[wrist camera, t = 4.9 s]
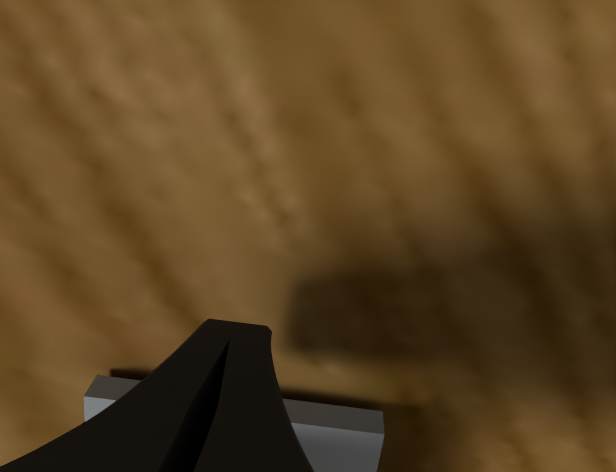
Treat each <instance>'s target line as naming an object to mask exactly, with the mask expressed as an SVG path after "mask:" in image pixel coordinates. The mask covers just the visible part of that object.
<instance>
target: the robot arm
mask: <svg viewBox="0 0 616 472" xmlns="http://www.w3.org/2000/svg"><path fill="white" fill-rule="evenodd" d="M271 335H272V331H271V330H270V329H269V328H268V327H267V326H263V325H255V324H247V323H239V322H231V321H223V320H215V319H207V320H206V321H205V322H203V323H202V324H201V325H200V326H199V327H198V329H197V330H196V331H195V332H194V333H193V334H192V335H191V336H190V337H189V338H188V339H187V340H186V341H185V342H184V343H183V344H182V345H181V346H180V347H179V348H178V349H177V350H176V351H175V352H174V353H172V354H171V355H170V356H169V357H168V358H167V359H166V360H165V361H164V362H163V363H161V364H160V365H159V366H158V367H157V368H156V369H155V370H154V371H153V372H151V373H150V374H149V375H148V376H147V377H145V378H144V379H143V380H142V381H140V382H139V383H138V384H137V385H135V386H134V387H133V388H132V389H130V390H129V391H128V392H127V393H125V394H124V395H123V396H122V397H120V398H119V399H118V400H116V401H115V402H114V403H112V404H111V405H109V406H108V407H107V408H105V409H104V410H102V411H101V412H99V413H98V414H96V415H95V416H93V417H92V418H90V419H89V420H87V421H86V422H84V423H83V424H81V425H79V426H78V427H76V428H74V429H72V430H71V431H69V432H67V433H65V434H63V435H62V436H60V437H58V438H56V439H54V440H53V441H51V442H49V443H47V444H45V445H43V446H42V447H40V448H38V449H36V450H34V451H32V452H30V453H28V454H26V455H24V456H22V457H20V458H18V459H16V460H14V461H11V462H9V463H7V464H5V465H3V466H0V472H314V470H313V468H312V466H311V464H310V463H309V461H308V459H307V457H306V455H305V453H304V451H303V449H302V447H301V445H300V443H299V441H298V438H297V436H296V434H295V431H294V429H293V427H292V424H291V422H290V419H289V416H288V414H287V411H286V408H285V405H284V402H283V399H282V396H281V393H280V389H279V386H278V382H277V378H276V375H275V370H274V365H273V359H272V353H271Z"/></svg>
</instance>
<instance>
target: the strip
mask: <svg viewBox="0 0 616 472" xmlns="http://www.w3.org/2000/svg"><path fill="white" fill-rule="evenodd" d="M139 382H140V380H133V379H125V378H117V377H109V376H101V375H97V376H96V377H95V379H94V381H93V382H92V384H91V385H90V387H89V389H88V390H87V392H86V393H85V395H84V411H85V422H86V421H87V420H89V419H90V418H92V417H93V416H95V415H96V414H98V413H99V412H101V411H102V410H104V409H105V408H107V407H108V406H109V405H111V404H112V403H114V402H115V401H116V400H118V399H119V398H120V397H122V396H123V395H124V394H125V393H127V392H128V391H129V390H130V389H132V388H133V387H134V386H135V385H137V384H138V383H139ZM283 402H284V405H285V408H286V411H287V414H288V416H289V419H290V422H291V424H292V427H293V429H294V431H295V434H296V436H297V438H298V441H299V443H300V445H301V447H302V449H303V451H304V453H305V455H306V457H307V459H308V461H309V463H310V464H311V466H312V468H313V470H314V472H377V468H378V463H379V459H380V454H381V449H382V445H383V440H384V435H385V433H384V422H383V411H376V410H368V409H360V408H352V407H345V406H337V405H329V404H321V403H313V402H305V401H297V400H290V399H283Z"/></svg>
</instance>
